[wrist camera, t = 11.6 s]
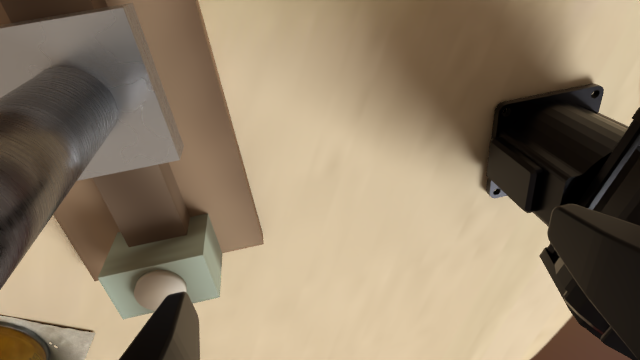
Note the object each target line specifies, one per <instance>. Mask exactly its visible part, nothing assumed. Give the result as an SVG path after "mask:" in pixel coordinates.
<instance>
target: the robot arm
mask: <svg viewBox="0 0 640 360" xmlns="http://www.w3.org/2000/svg"><path fill="white" fill-rule="evenodd" d="M603 91H604V89H603V87H601V86H599V85H596V84H590V85H585V86H580V87H575V88H570V89H565V90H560V91H555V92H550V93H545V94H540V95H535V96H530V97H525V98H520V99H515V100H510V101H505V102H502V103H500V104H499V105H498V106H497V107H496V109H495V113H494V123H493V132H492V140H491V142H490V147H489V157H488V167H487V177H488V180H487V189H486V191H487V193H488V194H489V195H490V196H491V197H492V198H499V197H503V196H509V197H510V198H511V199H512V200H513V201H514V202H515V203H516V204H517V205H518V206H519V207H520V208H521V209H523V210H524V211H525V212H527V213H531V212H533V213H534V214H535V215H536V216H537V217H539V218H540V219H541V220H542V221H543V222H544V223H545V224H546V225H547V226H548V227H549V228H548V239H549V241H550V245H549V246H548V247H546V248H544V250H543V251H542V253H541V254H540V258H541V259H542V261H543V263H544V265H545V267H546V269H547V270H548V272H549V274H550V276H551V278H552V279H553V281H554V283H555V285H556V287H557V288H558V290H559V292H560V294H561V296H562V297H563V299H564V301H565V303H566V305H567V307H568V308H569V310H570V311H571V313H572V314H573V316H574V317H575V318H576V320H577V321H578V323H579V324H580V325H581V326H583V327H584V328H586V329H587V330H589V331H590V332H591V333H592V334H593V335H595V336H596V337H598V338H599V339H600V340H601V341H602V342H603V343H604V344H605V345H607V346H609V347H611V348H613V349H615V350H616V351H618V352H620V353H622V354H624V355H625V356H627V357H629V358H631V359H632V360H640V107H639V108H638V110H637V111H636V113H635V114H634V116H633V117H632V119H634V120H633V121H632V123H631V124H630V126H629V127H628V126H626V125H624V124H622V123H619V122H617V121H615V120H613V119H611V118H609V117H607V116H604V115H602V114H600V113H598V112H599V108H600V104H601V100H602V96H603ZM593 92H594V93H593ZM592 93H593V94H592ZM505 109H507V110H506V112H505V113H504V114H502V113H503V111H504V110H505ZM495 189H497V190H496V191H494V190H495ZM119 360H200V342H199V319H198V315H197V312H196V310H195V308H194V306H193V304H192V302H191V299H190V297H189V295H188V294H187V293H186V292H184V291H183V292H178V293H174V294H170V295H168V296H166V297H165V299H164V300H163V301H162V303H161V304H160V305H159V307H158V308H157V309H156V311H155V312H154V313H153V315H152V316H151V317H150V319H149V320H148V321H147V323H146V324H145V325H144V327H143V328H142V329H141V331H140V332H139V333H138V335H137V336H136V337H135V339H134V340H133V341H132V343H131V344H130V345H129V347H128V348H127V349H126V351H125V352H124V353H123V355H122V356H121V357H120V359H119Z"/></svg>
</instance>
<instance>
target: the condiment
mask: <svg viewBox="0 0 640 360" xmlns="http://www.w3.org/2000/svg"><path fill="white" fill-rule="evenodd" d="M94 335H95V333H92V332H87V331H79V330H75V329H70V328H60V327H57V326H52V325H43V324H40V323H35V322H31V321H26V320H22V319H18V318H13V317H6V316H0V360H85V358H86V356H87V353H88V350H89V348H90V345H91V343H92V340H93V337H94ZM49 342H51V343H52V345H50V344H49ZM53 345H56V346H57V347H58V348H55V347H54V346H53Z"/></svg>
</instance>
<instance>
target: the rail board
mask: <svg viewBox="0 0 640 360" xmlns="http://www.w3.org/2000/svg"><path fill="white" fill-rule="evenodd" d="M128 3H133V5H134V8H135V11H136V14H137V16H138V19H139V22H140V25H141V28H142V30H143V33H144V36H145V39H146V42H147V44H148V47H149V50H150V53H151V55H152V58H153V61H154V64H155V67H156V69H157V72H158V75H159V78H160V80H161V83H162V86H163V89H164V92H165V94H166V97H167V100H168V103H169V106H170V108H171V111H172V114H173V117H174V119H175V122H176V125H177V128H178V131H179V133H180V136H181V139H182V142H183V145H184V147H183V151H182V154H181V158H180V160H178V161H173V162H168V163H163V164H158V165H153V166H148V167H143V168H138V169H133V170H128V171H123V172H118V173H113V174H108V175H103V176H98V177H93V178H88V179H83V180H78V181H76V183H75V184H74V185H73V187H72V188H71V190H70V191H69V193H68V194H67V195H66V197H65V198H64V200H63V201H62V203H61V204H60V205H59V207H58V208H57V210H56V211H55V213H54V216H55V218H56V219H57V221H58V223H59V224H60V226H61V227H62V229H63V231H64V232H65V234H66V235H67V237H68V239H69V240H70V242H71V243H72V245H73V247H74V248H75V250H76V252H77V253H78V255H79V256H80V258H81V260H82V261H83V263H84V264H85V266H86V268H87V269H88V271H89V272H90V274H91V276H92V277H93V279H94V281H98V280H99V281H100V283H101V284H102V286H103V287H104V289H105V291H106V292H107V294H108V296H109V297H110V299H111V301H112V302H113V304H114V305H115V307H116V309H117V310H118V312H119V314H120V315H121V317H122V319H127V318H131V317H135V316H140V315H144V314H149V313H153V312H155V311H156V309H157V308H158V307H159V305H160V304H161V303H162V301H163V300H164V299H165V297H166V296H168V295H170V294H174V293H178V292H183V291H184V292H186V293H187V294H188V295H189V297H190V299H191V302H192V303H197V302H201V301H205V300H210V299H214V298H219V297H220V284H221V267H222V253H225V252H230V251H234V250H239V249H243V248H248V247H252V246H257V245H262V244H263V233H262V230H261V226H260V222H259V219H258V215H257V212H256V208H255V204H254V201H253V197H252V193H251V190H250V186H249V183H248V179H247V175H246V172H245V168H244V165H243V161H242V157H241V154H240V150H239V147H238V143H237V139H236V136H235V132H234V129H233V125H232V121H231V118H230V114H229V110H228V107H227V103H226V100H225V96H224V92H223V89H222V85H221V82H220V78H219V74H218V71H217V67H216V64H215V60H214V56H213V53H212V49H211V46H210V42H209V38H208V35H207V31H206V27H205V24H204V20H203V17H202V13H201V9H200V6H199V2H198V0H0V25H4V24H10V23H16V22H22V21H28V20H34V19H39V18H45V17H51V16H57V15H63V14H69V13H75V12H81V11H87V10H93V9H99V8H104V7H110V6H116V5H122V4H128Z"/></svg>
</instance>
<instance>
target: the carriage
mask: <svg viewBox="0 0 640 360" xmlns="http://www.w3.org/2000/svg"><path fill="white" fill-rule="evenodd" d="M183 147H184V145H183V142H182V139H181V136H180V133H179V131H178V128H177V125H176V122H175V119H174V117H173V114H172V111H171V108H170V106H169V103H168V100H167V97H166V94H165V92H164V89H163V86H162V83H161V80H160V78H159V75H158V72H157V69H156V67H155V64H154V61H153V58H152V55H151V53H150V50H149V47H148V44H147V42H146V39H145V36H144V33H143V30H142V28H141V25H140V22H139V19H138V16H137V14H136V11H135V8H134V5H133V3H128V4H122V5H116V6H110V7H104V8H99V9H93V10H87V11H81V12H75V13H69V14H63V15H57V16H51V17H45V18H39V19H34V20H28V21H22V22H16V23H10V24H4V25H0V289H1V288H2V287H3V285H4V284H5V282H6V281H7V279H8V278H9V277H10V275H11V274H12V272H13V271H14V269H15V268H16V267H17V265H18V264H19V262H20V261H21V260H22V258H23V257H24V255H25V254H26V252H27V251H28V250H29V248H30V247H31V245H32V244H33V242H34V241H35V240H36V238H37V237H38V235H39V234H40V232H41V231H42V230H43V228H44V227H45V225H46V224H47V222H48V221H49V220H50V218H51V217H52V215H53V214H54V213H55V211H56V210H57V208H58V207H59V205H60V204H61V203H62V201H63V200H64V198H65V197H66V195H67V194H68V193H69V191H70V190H71V188H72V187H73V185H74V184H75V183H76V181H78V180H83V179H88V178H93V177H98V176H103V175H108V174H113V173H118V172H123V171H128V170H133V169H138V168H143V167H148V166H153V165H158V164H163V163H168V162H173V161H178V160H180V158H181V154H182V151H183Z"/></svg>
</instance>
